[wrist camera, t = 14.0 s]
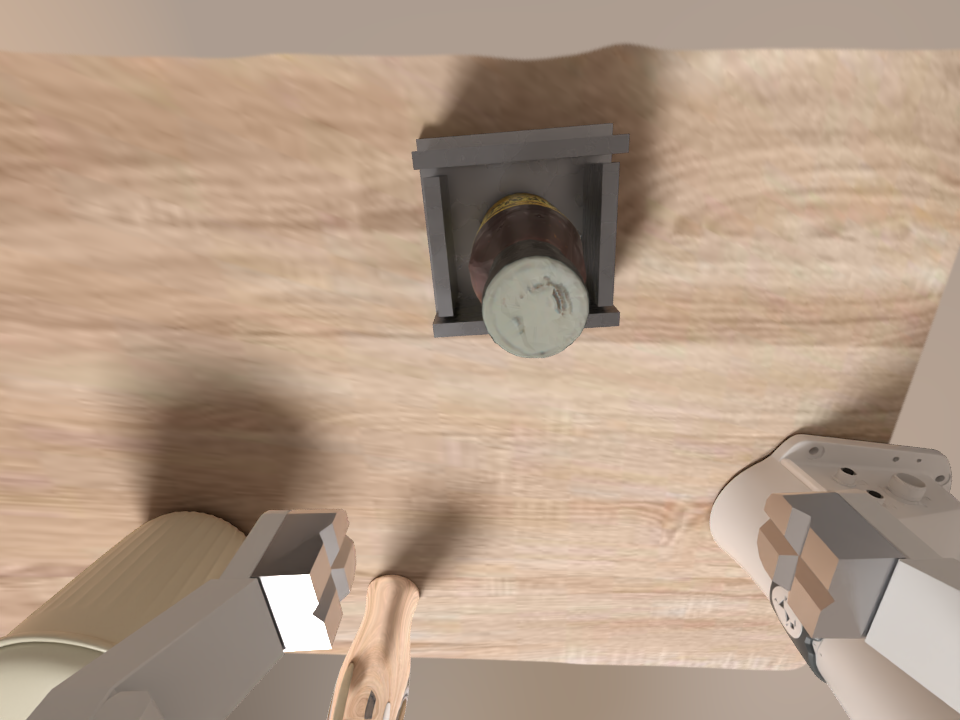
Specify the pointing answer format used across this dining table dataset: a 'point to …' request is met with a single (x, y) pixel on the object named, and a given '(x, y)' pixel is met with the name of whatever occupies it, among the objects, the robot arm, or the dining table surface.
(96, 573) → the canister
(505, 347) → the sauce bottle
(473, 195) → the square socket
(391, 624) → the beer glass
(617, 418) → the dining table surface
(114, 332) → the dining table surface
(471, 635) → the dining table surface
